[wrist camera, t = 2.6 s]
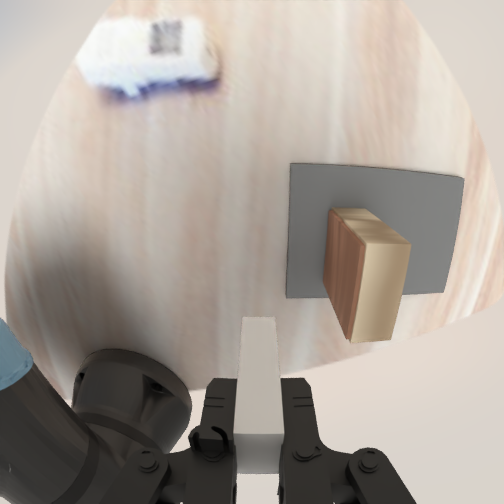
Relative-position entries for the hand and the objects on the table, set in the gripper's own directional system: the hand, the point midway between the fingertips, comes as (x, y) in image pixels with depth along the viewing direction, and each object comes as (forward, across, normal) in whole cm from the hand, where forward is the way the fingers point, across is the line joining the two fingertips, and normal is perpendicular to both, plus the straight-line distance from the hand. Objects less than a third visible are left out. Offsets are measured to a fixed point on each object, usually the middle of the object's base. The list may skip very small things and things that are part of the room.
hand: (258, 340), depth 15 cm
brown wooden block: (+13, -8, 0) cm, 15 cm away
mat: (+14, -11, -1) cm, 18 cm away
